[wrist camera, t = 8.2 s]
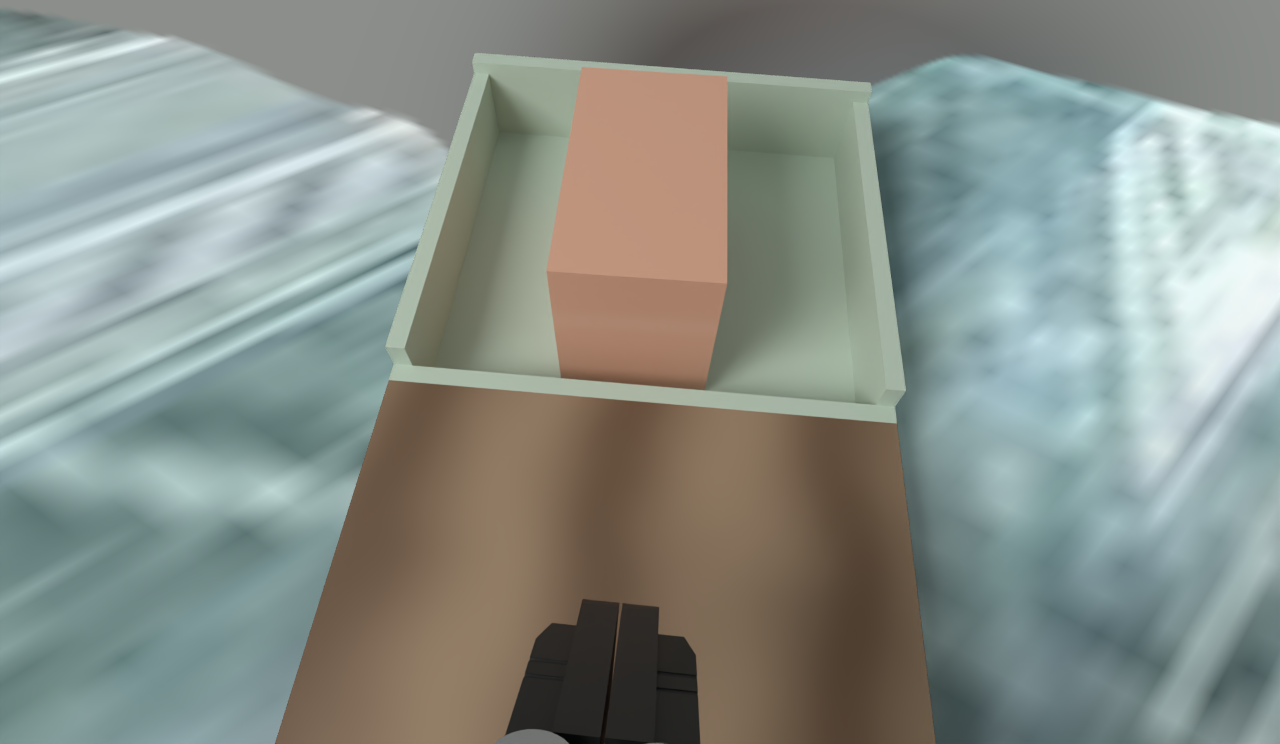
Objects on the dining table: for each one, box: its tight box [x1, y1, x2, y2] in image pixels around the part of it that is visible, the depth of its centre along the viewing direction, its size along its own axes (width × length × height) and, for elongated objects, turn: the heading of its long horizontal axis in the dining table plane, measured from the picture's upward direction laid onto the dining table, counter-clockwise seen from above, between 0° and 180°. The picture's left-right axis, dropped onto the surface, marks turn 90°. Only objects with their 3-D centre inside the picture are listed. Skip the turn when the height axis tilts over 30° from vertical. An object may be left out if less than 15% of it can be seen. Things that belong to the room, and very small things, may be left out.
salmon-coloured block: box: [546, 67, 727, 390], centre depth 24 cm, size 5×6×9 cm
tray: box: [385, 53, 906, 424], centre depth 26 cm, size 16×15×4 cm
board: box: [275, 380, 936, 744], centre depth 20 cm, size 16×12×2 cm
